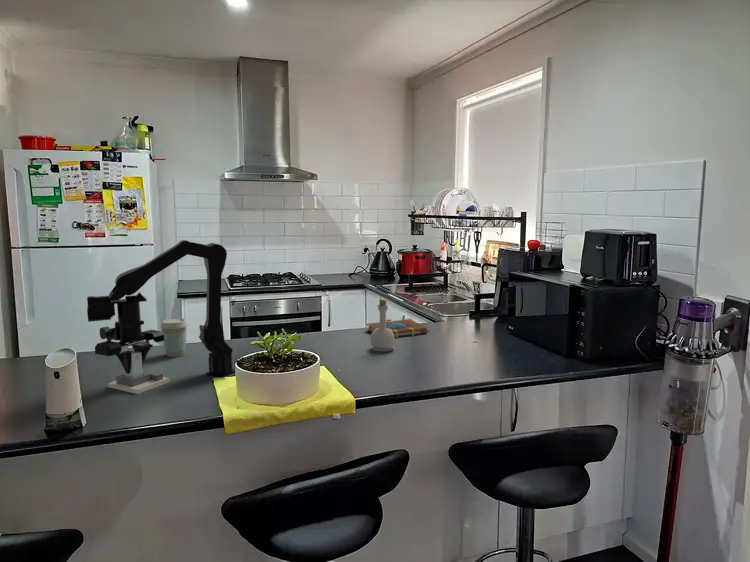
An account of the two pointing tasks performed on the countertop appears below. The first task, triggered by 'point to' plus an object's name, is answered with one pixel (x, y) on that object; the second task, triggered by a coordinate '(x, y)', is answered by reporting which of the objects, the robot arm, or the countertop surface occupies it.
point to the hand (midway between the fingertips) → (133, 371)
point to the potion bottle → (382, 332)
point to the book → (400, 327)
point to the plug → (135, 366)
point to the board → (139, 382)
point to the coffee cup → (174, 336)
